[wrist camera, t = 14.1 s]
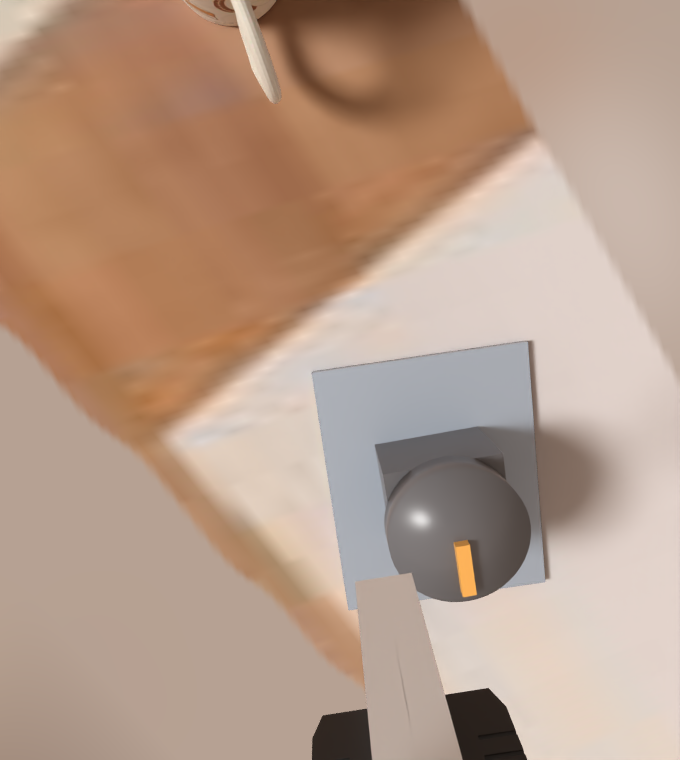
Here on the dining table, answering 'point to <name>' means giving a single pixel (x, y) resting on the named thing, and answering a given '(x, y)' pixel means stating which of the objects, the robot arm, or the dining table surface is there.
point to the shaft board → (414, 419)
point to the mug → (245, 34)
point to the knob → (452, 514)
